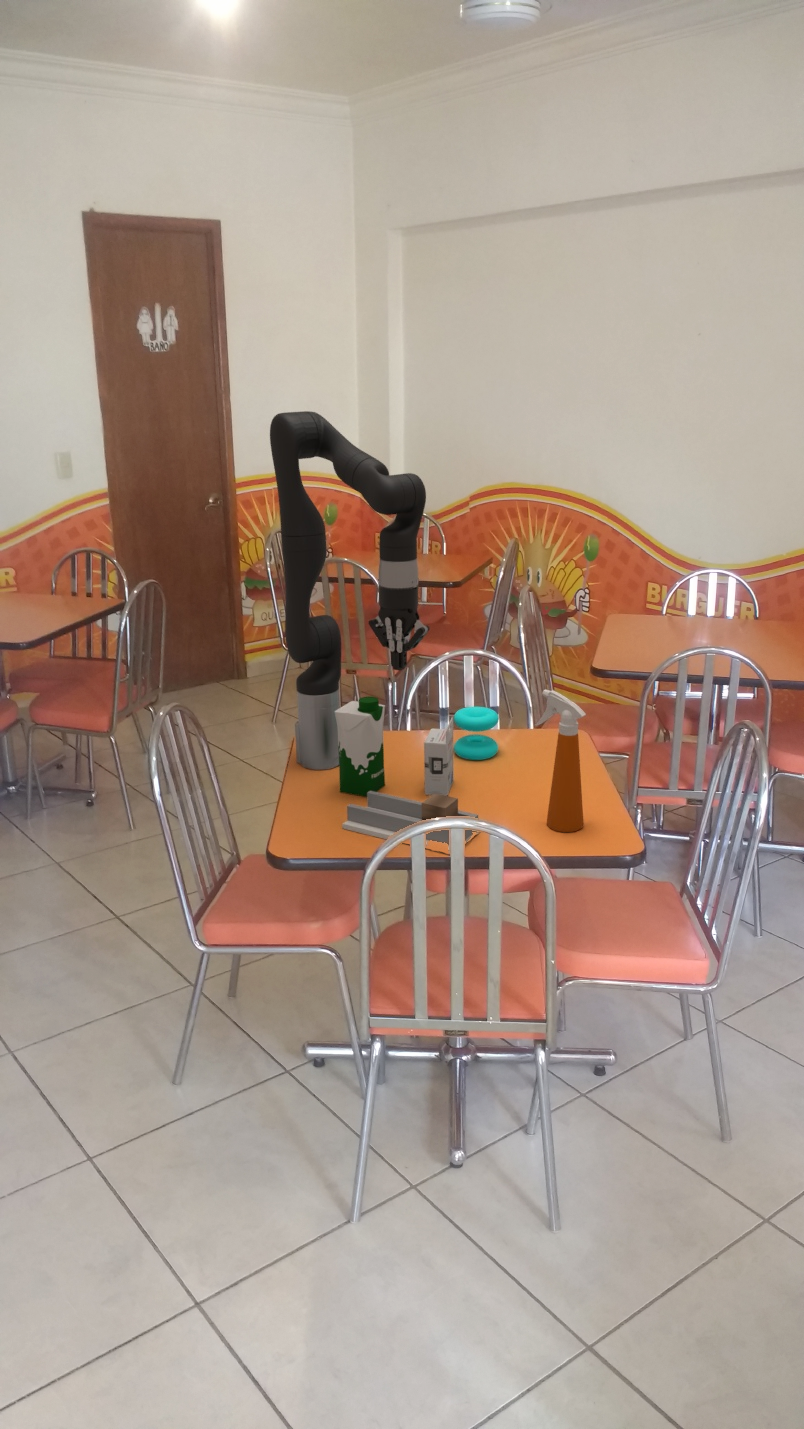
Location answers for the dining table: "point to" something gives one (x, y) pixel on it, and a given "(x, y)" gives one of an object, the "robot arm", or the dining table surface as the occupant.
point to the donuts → (475, 744)
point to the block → (439, 806)
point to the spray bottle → (565, 765)
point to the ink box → (439, 760)
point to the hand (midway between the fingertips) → (399, 669)
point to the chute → (392, 817)
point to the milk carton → (361, 746)
